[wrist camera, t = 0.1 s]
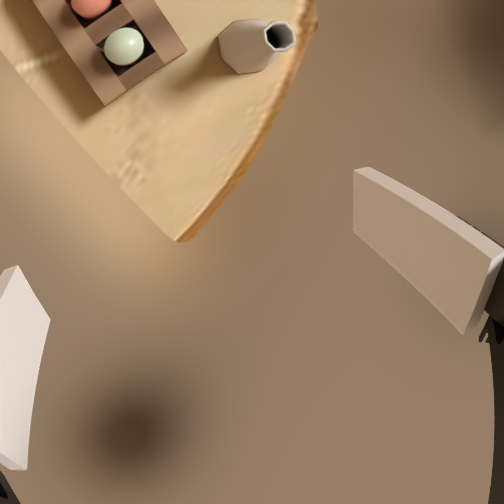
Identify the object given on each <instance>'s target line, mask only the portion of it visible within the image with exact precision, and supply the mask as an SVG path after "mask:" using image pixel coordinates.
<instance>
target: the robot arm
mask: <svg viewBox="0 0 504 504" xmlns="http://www.w3.org/2000/svg"><path fill="white" fill-rule="evenodd" d="M353 178H354V179H353V180H354V198H353V200H354V201H353V232H354V233H355V234H356V235H357V236H359V237H360V238H361V239H362V240H363V241H364V242H366V243H367V244H368V245H369V246H370V247H371V248H372V249H373V250H375V251H376V252H377V253H378V254H379V255H380V256H381V257H382V258H384V259H385V260H386V261H387V262H388V263H389V264H390V265H391V266H392V267H393V268H395V269H396V270H397V271H398V272H399V273H400V274H401V275H402V276H403V277H404V278H405V279H406V280H408V281H409V282H410V283H411V284H412V285H413V286H414V287H415V288H416V289H417V290H418V291H419V292H420V293H421V294H422V295H423V296H424V297H425V298H426V299H428V301H429V302H431V303H432V304H433V305H434V306H435V307H436V308H437V309H438V310H439V311H440V312H441V313H442V314H443V315H444V316H445V317H446V318H447V319H448V320H449V321H450V322H451V324H453V326H455V328H456V329H457V330H458V331H459V332H461V334H462V335H463V334H465V333H467V332H468V331H470V330H471V329H472V328H473V327H475V326H477V325H478V323H479V321H480V318H481V316H482V314H483V311H484V310H485V311H486V312H487V313H488V314H489V317H488V319H487V322H486V324H485V326H484V328H483V330H482V332H481V334H480V336H479V342H482V340H483V338H484V336H485V334H486V333H488V338H487V340H486V343H489V344H490V352H491V362H492V373H493V387H494V414H495V415H494V416H495V428H494V454H493V468H492V479H491V487H490V495H489V501H488V504H504V247H503V246H501V245H500V244H499V243H497V242H496V241H494V240H493V239H491V238H490V237H489V236H487V235H486V234H484V233H483V232H480V231H479V230H478V229H477V228H475V227H474V226H471V224H469V223H468V222H466V221H464V220H463V219H461V218H460V217H458V216H455V215H453V214H452V213H450V212H448V211H447V210H445V209H443V208H442V207H440V206H439V205H437V204H435V203H434V202H432V201H430V200H429V199H427V198H425V197H424V196H422V195H420V194H418V193H417V192H415V191H413V190H411V189H410V188H408V187H406V186H404V185H402V184H401V183H399V182H397V181H395V180H393V179H391V178H390V177H388V176H386V175H384V174H382V173H380V172H378V171H376V170H374V169H372V168H370V167H366V168H361V169H356V170H353ZM49 323H50V318H49V317H48V315H47V314H46V312H45V311H44V309H43V307H42V306H41V304H40V302H39V301H38V299H37V297H36V296H35V294H34V292H33V291H32V289H31V288H30V286H29V284H28V282H27V281H26V279H25V277H24V275H23V273H22V271H21V270H20V268H19V266H18V265H16V266H14V267H11V268H9V269H6V270H4V271H3V273H2V275H1V276H0V463H1V464H2V465H4V466H6V467H7V468H9V469H11V470H27V459H28V445H29V444H28V443H29V433H30V423H31V415H32V407H33V401H34V394H35V388H36V382H37V377H38V371H39V366H40V361H41V356H42V352H43V348H44V343H45V339H46V335H47V331H48V327H49ZM0 504H20V502H19V500H18V499H17V497H16V495H15V494H14V492H13V490H12V489H11V487H10V485H9V483H8V482H7V480H6V478H5V476H4V475H3V473H2V472H1V471H0Z"/></svg>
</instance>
